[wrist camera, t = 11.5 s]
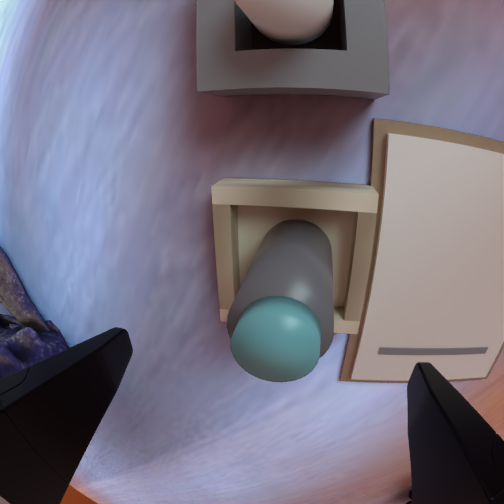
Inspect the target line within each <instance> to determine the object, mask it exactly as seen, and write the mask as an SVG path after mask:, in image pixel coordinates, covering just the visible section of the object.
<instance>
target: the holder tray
mask: <svg viewBox="0 0 504 504" xmlns="http://www.w3.org/2000/svg"><path fill="white" fill-rule="evenodd" d="M211 190H212V208H213V225H214V241H215V255H216V269H217V282H218V295H219V307H220V319H221V322H227V315H228V312H229V309H230V307H231V305H232V303H233V301H234V299H235V297H236V295H237V293H238V291H239V289H240V287H241V285H242V282H243V280H244V278H245V276H246V274H247V272H248V270H249V268H250V266H251V264H252V262H253V260H254V258H255V256H256V254H257V252H258V250H259V248H260V246H261V244H262V241H263V239H264V237H265V235H266V234H267V232H268V231H269V230H270V229H271V228H272V227H273V226H275V225H276V224H278V223H280V222H282V221H285V220H290V219H301V220H306V221H309V222H311V223H313V224H315V225H317V226H318V227H319V228H321V229H322V230H323V231H324V233H325V234H326V235H327V237H328V239H329V241H330V243H331V247H332V262H333V291H334V333H344V334H358V329H359V324H360V319H361V314H362V309H363V304H364V299H365V293H366V287H367V282H368V276H369V269H370V263H371V256H372V249H373V242H374V234H375V226H376V217H377V208H378V197H379V194H378V193H377V191H376V190H375V189H374V187H372V186H370V185H361V184H348V183H334V182H319V181H300V180H277V179H238V178H223V179H222V180H220V181H219V182H217V183H216V184H214V185H212V186H211Z"/></svg>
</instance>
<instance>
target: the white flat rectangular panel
mask: <svg viewBox="0 0 504 504" xmlns="http://www.w3.org/2000/svg"><path fill="white" fill-rule="evenodd" d="M370 186H372V187H374V189H375V190H376V191H377V193H378V194H379V197H378V208H377V217H376V226H375V234H374V242H373V249H372V256H371V263H370V269H369V276H368V282H367V287H366V293H365V299H364V304H363V309H362V314H361V319H360V324H359V329H358V334H350V335H349V340H348V345H347V349H346V354H345V359H344V363H343V367H342V372H341V376H340V381H355V382H390V383H408V381H409V379H410V376H411V374H412V371H413V369H414V366H415V365H416V363H418V362H429V363H431V364H432V365H433V366H434V367H435V368H436V369H437V370H438V371H439V372H440V373H441V374H442V375H443V376H444V377H445V378H446V379H447V380H448V381H464V380H477V379H487V377H488V376H489V374H490V372H491V370H492V368H493V366H494V364H495V363H496V361H497V359H498V357H499V355H500V353H501V351H502V349H503V347H504V142H502V141H498V140H494V139H490V138H486V137H482V136H478V135H473V134H469V133H464V132H459V131H455V130H449V129H444V128H439V127H433V126H427V125H421V124H414V123H408V122H400V121H393V120H384V119H375V118H373V145H372V165H371V180H370Z"/></svg>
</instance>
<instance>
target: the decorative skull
mask: <svg viewBox="0 0 504 504" xmlns="http://www.w3.org/2000/svg"><path fill="white" fill-rule="evenodd" d="M0 303H3V304H4V305H5V307H6V308H7V309H8V311H9V312H10V313H11V314H12V315H13V316H14V317H15V318H14V317H12V316H10V315H3V314H0V378H2V377H5V376H8V375H10V374H13V373H15V372H17V371H20V370H22V369H24V368H26V367H29V366H30V367H31V365H33V364H35V363H38V362H40V361H42V360H44V359H47V358H49V357H51V356H53V355H55V354H58V353H60V352H62V351H64V350H66V349H69V348H68V346H67V344H66V342H65V341H64V339H63V337H62V335H61V333H60V331H59V329H58V328H57V327H56V326H55V325H54V323H53V322H52V321H51V320H48V321H44V320H43V319H42V317H41V316H40V314H39V313H38V312H37V310H36V309H35V307H34V305H33V304H32V302H31V301H30V299H29V297H28V295H27V294H26V292H25V290H24V288H23V286H22V284H21V282H20V280H19V278H18V276H17V274H16V272H15V270H14V269H13V267H12V264H11V263H10V261H9V259H8V257H7V255H6V254H5V253H4V251H3V250H2V249H1V247H0ZM10 324H18V325H21V326H23V327H16V328H13V329H11V328H10V327H9V325H10Z"/></svg>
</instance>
